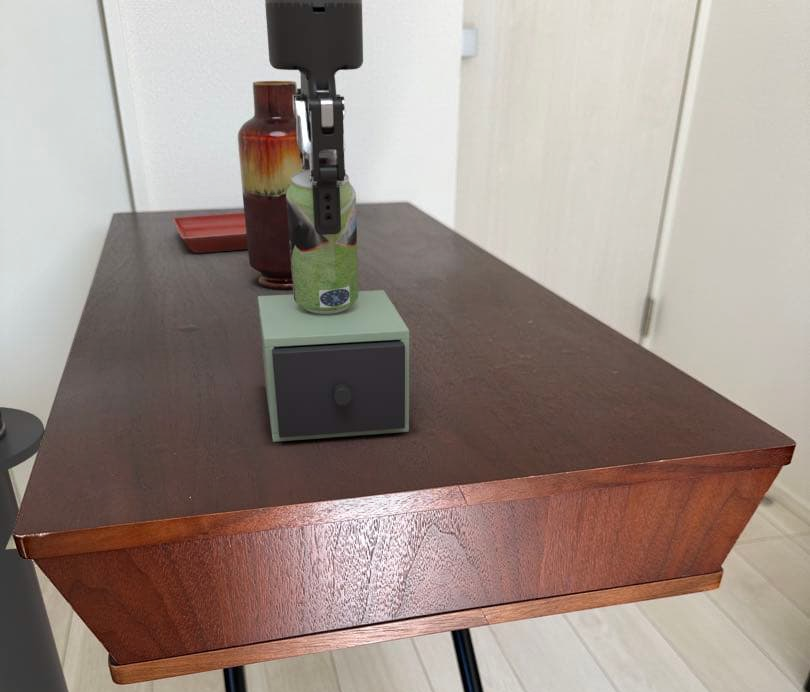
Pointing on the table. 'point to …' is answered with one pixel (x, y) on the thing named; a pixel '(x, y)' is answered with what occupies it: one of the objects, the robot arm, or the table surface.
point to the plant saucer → (213, 232)
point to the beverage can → (322, 250)
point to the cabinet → (328, 339)
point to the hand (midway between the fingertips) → (323, 225)
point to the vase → (269, 179)
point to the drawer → (339, 387)
